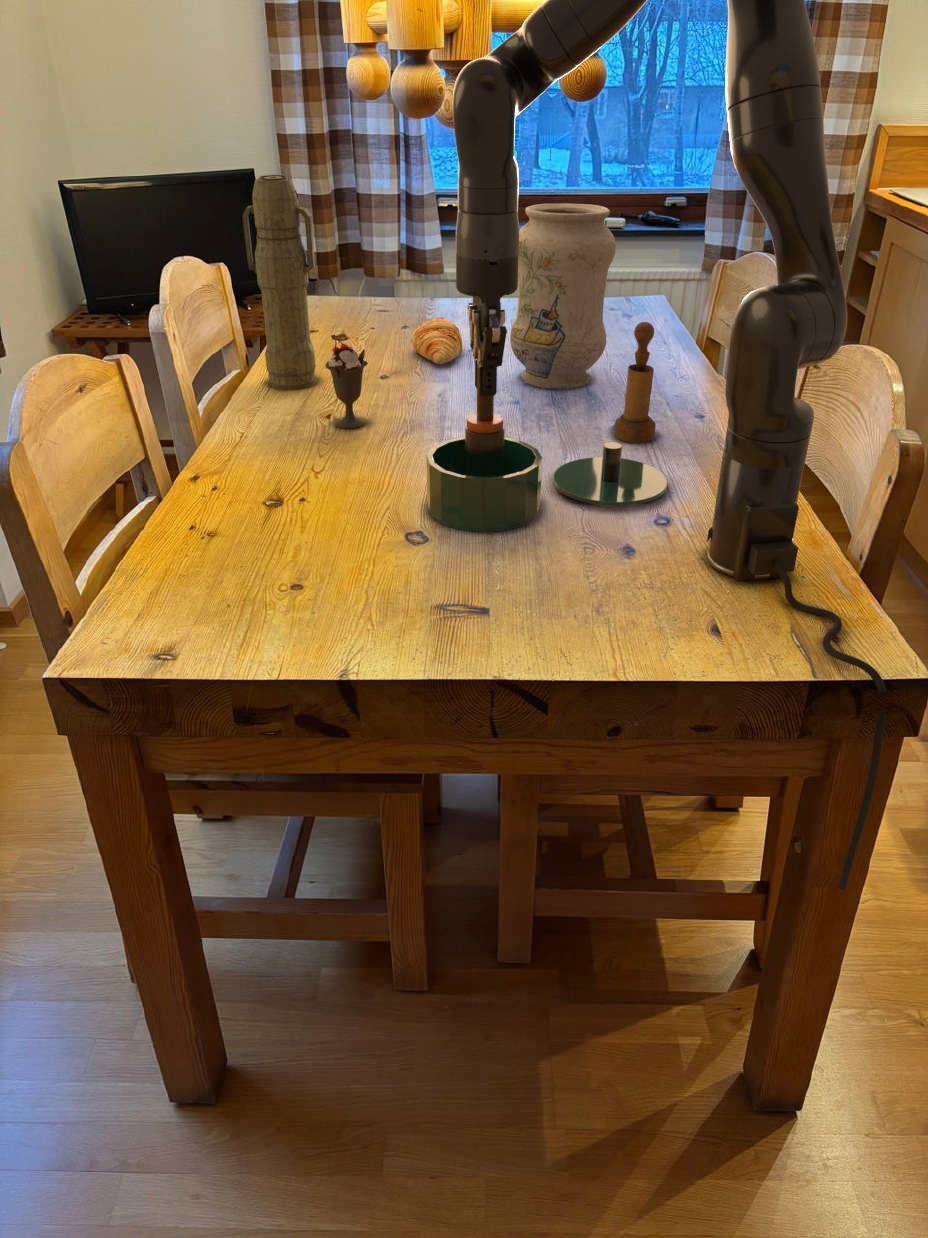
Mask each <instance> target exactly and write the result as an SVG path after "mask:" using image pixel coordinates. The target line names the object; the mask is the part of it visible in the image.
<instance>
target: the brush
mask: <svg viewBox="0 0 928 1238" xmlns="http://www.w3.org/2000/svg"><path fill="white" fill-rule="evenodd" d="M480 341H483V340H480ZM487 356H494V353H492V354H488V355H487ZM476 360H477V388H476V413H472V414H470V415H468V416H467V417H466V425H465V426H464V437H465V450H466V451H467V452H468V453H470V454H473V455H478V456H492V455H497V454H499V453H501V452H503V451H504V437H505V434H506V433H505V432H506V429H505V427H506V426H505V425H504V417H503V416H502V415H500V414H498V413H495V411H494V410H495V395H494V396H481V395H480V394H479V365H478V349H477V359H476Z"/></svg>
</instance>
